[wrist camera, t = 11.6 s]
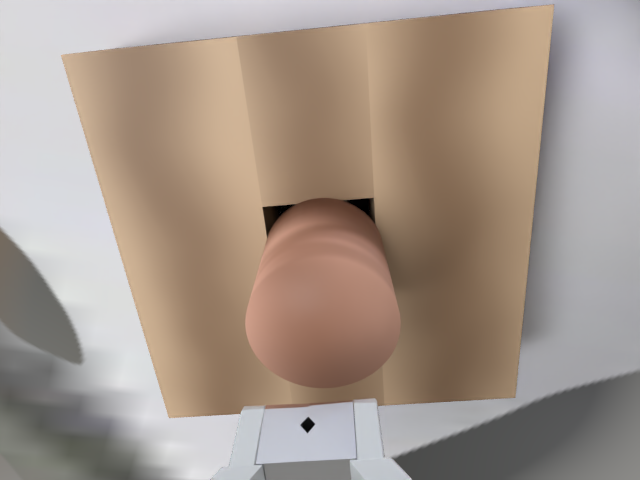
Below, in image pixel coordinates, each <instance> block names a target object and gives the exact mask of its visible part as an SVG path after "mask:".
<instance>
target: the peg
mask: <svg viewBox="0 0 640 480" xmlns="http://www.w3.org/2000/svg"><path fill="white" fill-rule="evenodd" d="M245 327H246V334H247V338H248V341H249V344H250V346H251V348H252V350H253V352H254V353H255V355H256V356H257V358H258V359H259V360H260V361H261V363H262V364H263V365H265V366H266V367H267V368H268V369H269V370H270V371H272V372H273V373H274V374H276V375H277V376H279V377H281V378H283V379H285V380H287V381H289V382H292V383H295V384H298V385H301V386H306V387H312V388H335V387H341V386H346V385H350V384H353V383H356V382H358V381H360V380H363V379H365V378H366V377H368V376H370V375H371V374H373V373H374V372H376V371H377V370H378V369H379V368H381V367H382V366H383V364H384V363H385V362H386V361H387V360H388V359H389V357H390V356H391V355H392V353H393V351H394V349H395V348H396V345H397V342H398V340H399V335H400V329H401V319H400V312H399V308H398V304H397V300H396V296H395V292H394V288H393V283H392V279H391V275H390V271H389V267H388V263H387V259H386V255H385V251H384V247H383V243H382V239H381V235H380V233H379V230H378V228H377V227H376V225H375V223H374V222H373V221H372V219H371V218H370V217H369V216H368V215H367V214H366V213H365V212H364V211H362V210H361V209H359V208H358V207H356V206H354V205H352V204H351V203H350V202H349V201H348V200H338V199H333V198H316V199H310V200H306V201H303V202H300V203H298V204H296V205H294V206H292V207H291V208H289V209H288V210H286V211H285V212H284V213H283V214H282V215H281V216H280V217H279V218H278V219H277V220H276V221H275V223H274V224H273V226H272V228H271V230H270V232H269V235H268V237H267V241H266V244H265V248H264V251H263V255H262V258H261V262H260V265H259V269H258V272H257V276H256V279H255V283H254V286H253V290H252V293H251V297H250V300H249V304H248V307H247V312H246V319H245Z"/></svg>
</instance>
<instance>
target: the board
mask: <svg viewBox="0 0 640 480" xmlns="http://www.w3.org/2000/svg"><path fill="white" fill-rule="evenodd" d="M553 11H554V5H543V6H531V7H519V8H508V9H498V10H489V11H479V12H469V13H459V14H449V15H440V16H430V17H420V18H410V19H401V20H391V21H381V22H371V23H361V24H352V25H342V26H332V27H322V28H313V29H303V30H293V31H283V32H273V33H264V34H254V35H244V36H234V37H225V38H215V39H205V40H195V41H185V42H176V43H166V44H156V45H146V46H137V47H127V48H117V49H108V50H99V51H90V52H82V53H73V54H65V55H61V57H62V60H63V64H64V67H65V70H66V74H67V77H68V81H69V84H70V87H71V91H72V94H73V97H74V101H75V104H76V107H77V111H78V114H79V117H80V121H81V124H82V128H83V131H84V134H85V138H86V141H87V144H88V148H89V151H90V154H91V158H92V161H93V165H94V168H95V171H96V175H97V178H98V181H99V185H100V188H101V191H102V195H103V198H104V201H105V205H106V208H107V212H108V215H109V218H110V222H111V225H112V228H113V232H114V235H115V238H116V242H117V245H118V249H119V252H120V255H121V259H122V262H123V265H124V269H125V272H126V275H127V279H128V282H129V285H130V289H131V292H132V296H133V299H134V302H135V306H136V309H137V312H138V316H139V319H140V322H141V326H142V329H143V333H144V336H145V339H146V343H147V346H148V349H149V353H150V356H151V359H152V363H153V366H154V369H155V373H156V376H157V380H158V383H159V386H160V390H161V393H162V396H163V400H164V403H165V406H166V410H167V413H168V417H169V418H178V417H195V416H212V415H229V414H241V411H242V409H243V408H244V406H266V405H280V404H307V403H320V402H334V401H348V400H353V403H354V400H359V399H372V398H375V399H376V400H377V405H378V406H382V405H399V404H416V403H434V402H451V401H468V400H485V399H502V398H515V395H516V385H517V375H518V365H519V355H520V344H521V334H522V324H523V314H524V304H525V294H526V284H527V274H528V264H529V253H530V243H531V233H532V223H533V213H534V203H535V193H536V183H537V173H538V162H539V152H540V142H541V132H542V122H543V112H544V102H545V92H546V82H547V71H548V61H549V51H550V41H551V31H552V21H553ZM316 198H333V199H338V200H352V199H364V198H368V206H369V217H370V218H371V219H372V221H373V222H374V223H375V225H376V227H377V228H378V230H379V233H380V235H381V239H382V243H383V247H384V251H385V255H386V259H387V263H388V267H389V271H390V275H391V279H392V283H393V288H394V292H395V296H396V300H397V304H398V308H399V312H400V319H401V329H400V335H399V340H398V342H397V345H396V348H395V349H394V351H393V353H392V355H391V356H390V357H389V359H388V360H387V361H386V362H385V363H384V364H383V366H382V367H381V368H379V369H378V370H377V371H376V372H374V373H373V374H371V375H370V376H368V377H366V378H365V379H363V380H360V381H358V382H356V383H353V384H350V385H346V386H341V387H335V388H312V387H306V386H301V385H298V384H295V383H292V382H289V381H287V380H285V379H283V378H281V377H279V376H277V375H276V374H274V373H273V372H272V371H270V370H269V369H268V368H267V367H266V366H265V365H263V364H262V363H261V361H260V360H259V359H258V358H257V356H256V355H255V353H254V352H253V350H252V348H251V346H250V344H249V341H248V338H247V334H246V327H245V319H246V312H247V307H248V304H249V300H250V297H251V293H252V290H253V286H254V283H255V279H256V276H257V272H258V269H259V265H260V262H261V258H262V255H263V251H264V248H265V244H266V241H267V237H268V235H269V232H270V230H271V228H272V226H273V224H274V223H275V221H276V220H277V219H278V218H279V211H278V206H279V205H291V204H298V203H300V202H303V201H306V200H310V199H316ZM353 406H354V404H353Z"/></svg>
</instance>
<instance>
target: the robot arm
mask: <svg viewBox="0 0 640 480" xmlns="http://www.w3.org/2000/svg"><path fill="white" fill-rule="evenodd" d="M353 404H354V406H353ZM354 417H355V418H354ZM210 480H412V479H411V478H410V477H409V476H408V475H407V474H406V473H405V471H404V470H402V468H401V467H400V466H399V465H398V464H397V463H396V462H395V461H394V460H393V459H392V458H385V457H384V449H383V442H382V434H381V427H380V420H379V412H378V405H377V400H376V399H375V398H372V399H359V400H354V403H353V400H348V401H334V402H320V403H307V404H280V405H266V406H244V408H243V409H242V411H241V414H240V418H239V423H238V427H237V432H236V436H235V441H234V445H233V449H232V454H231V458H230V463H229V467H222V468H221V469H220V470H219V471H218V472H217V473H216V474H215V475H214V476H213V477H212V478H211V479H210Z"/></svg>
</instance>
